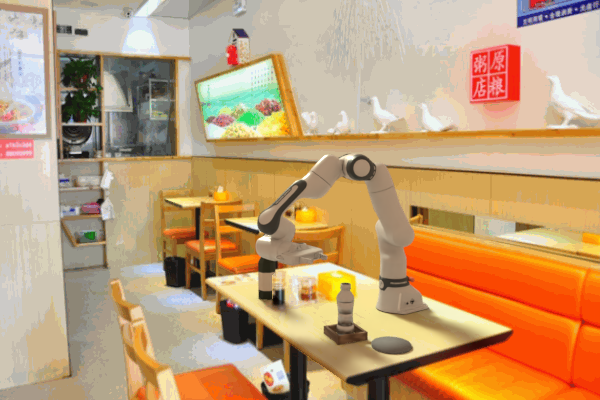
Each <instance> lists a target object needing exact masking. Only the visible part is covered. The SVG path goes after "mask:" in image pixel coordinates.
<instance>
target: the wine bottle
mask: <svg viewBox="0 0 600 400" xmlns="http://www.w3.org/2000/svg"><path fill="white" fill-rule="evenodd" d="M264 235H265V234H264V233H263V235H262V237H263V236H264ZM257 267H258V268H257V276H258V277H257V278H258V279H257V280H258V282H257V284H258V285H257V286H258V290H257V291H258V292H257V294H258V300H262V301H272V300H273V299H272V275H273V274H274V273H275V274H276V261H272V260H268V259H265V258H262V257H261V256H260V257H259V259H258V261H257Z"/></svg>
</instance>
